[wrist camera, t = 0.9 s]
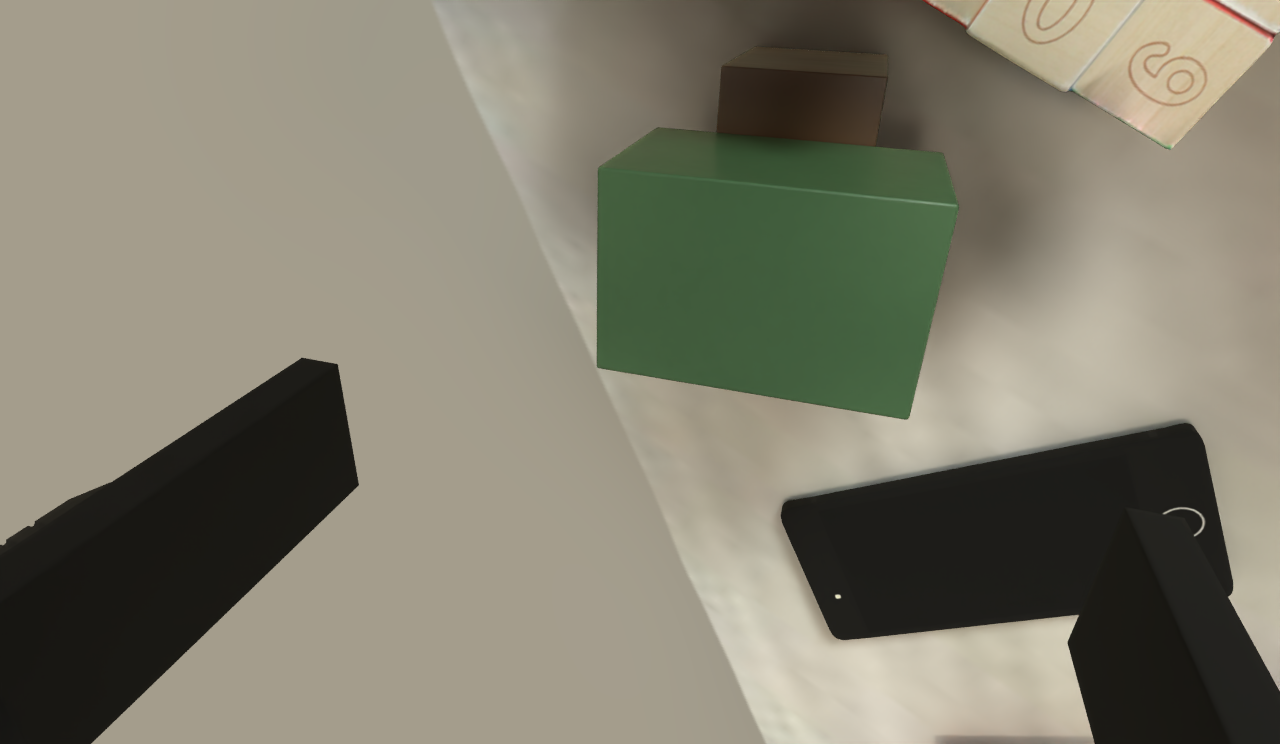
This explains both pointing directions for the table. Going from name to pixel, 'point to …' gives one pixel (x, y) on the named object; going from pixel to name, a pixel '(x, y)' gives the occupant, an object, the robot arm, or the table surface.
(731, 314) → the green block
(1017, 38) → the stack of blocks
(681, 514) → the table surface
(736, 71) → the walnut block
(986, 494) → the cell phone
